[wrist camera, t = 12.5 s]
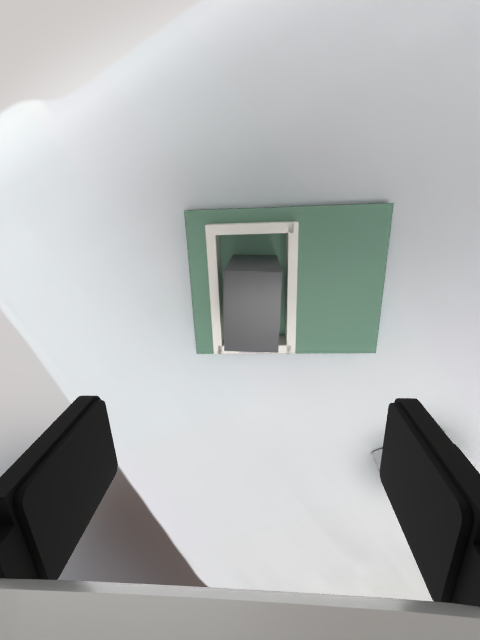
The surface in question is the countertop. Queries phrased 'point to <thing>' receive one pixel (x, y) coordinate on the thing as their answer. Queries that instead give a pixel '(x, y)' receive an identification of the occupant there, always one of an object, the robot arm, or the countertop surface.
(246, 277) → the dark gray block
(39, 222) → the countertop surface
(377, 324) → the header board
